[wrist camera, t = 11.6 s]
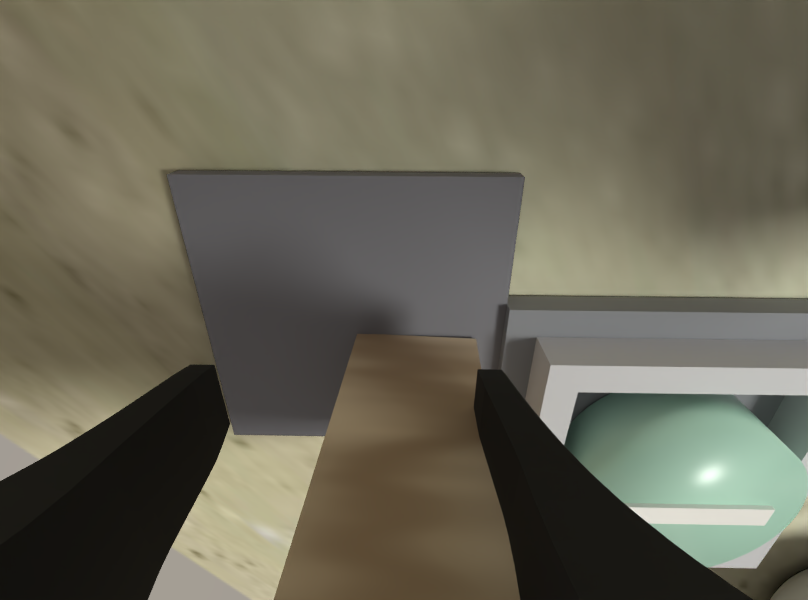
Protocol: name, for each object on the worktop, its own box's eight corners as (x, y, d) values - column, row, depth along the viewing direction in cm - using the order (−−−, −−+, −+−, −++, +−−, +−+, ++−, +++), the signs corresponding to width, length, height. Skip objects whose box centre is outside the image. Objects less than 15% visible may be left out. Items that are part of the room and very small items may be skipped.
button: (783, 379, 14) (858, 439, 11) (709, 511, 17) (756, 580, 15) (575, 376, 14) (607, 435, 12) (541, 508, 17) (562, 576, 15)
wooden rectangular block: (477, 337, 14) (539, 686, 6) (467, 429, 16) (502, 788, 8) (356, 331, 14) (249, 661, 6) (360, 422, 16) (284, 766, 8)
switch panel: (865, 299, 14) (953, 341, 11) (729, 525, 19) (770, 582, 17) (503, 295, 14) (521, 336, 12) (473, 520, 19) (481, 577, 17)
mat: (519, 173, 12) (524, 176, 11) (486, 427, 17) (488, 438, 16) (177, 170, 12) (166, 174, 11) (240, 423, 17) (234, 434, 16)
